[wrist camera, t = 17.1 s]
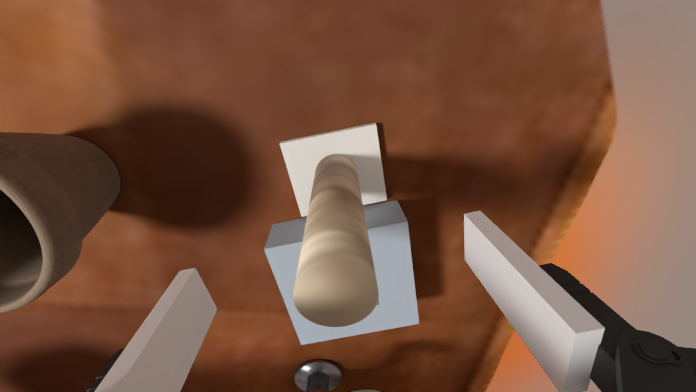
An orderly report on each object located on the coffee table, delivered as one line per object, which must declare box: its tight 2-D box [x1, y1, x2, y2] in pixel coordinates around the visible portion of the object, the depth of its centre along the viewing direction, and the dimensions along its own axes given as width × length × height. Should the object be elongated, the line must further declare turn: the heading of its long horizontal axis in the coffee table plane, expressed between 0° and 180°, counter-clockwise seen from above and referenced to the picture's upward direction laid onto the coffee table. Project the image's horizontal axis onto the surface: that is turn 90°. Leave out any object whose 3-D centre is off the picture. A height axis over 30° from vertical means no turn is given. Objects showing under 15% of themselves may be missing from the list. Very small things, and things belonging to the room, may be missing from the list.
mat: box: [280, 123, 387, 217], centre depth 25 cm, size 8×7×1 cm
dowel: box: [293, 154, 379, 327], centre depth 18 cm, size 4×4×14 cm
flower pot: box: [0, 132, 121, 313], centre depth 19 cm, size 12×11×10 cm
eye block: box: [264, 200, 419, 345], centre depth 28 cm, size 12×12×4 cm
